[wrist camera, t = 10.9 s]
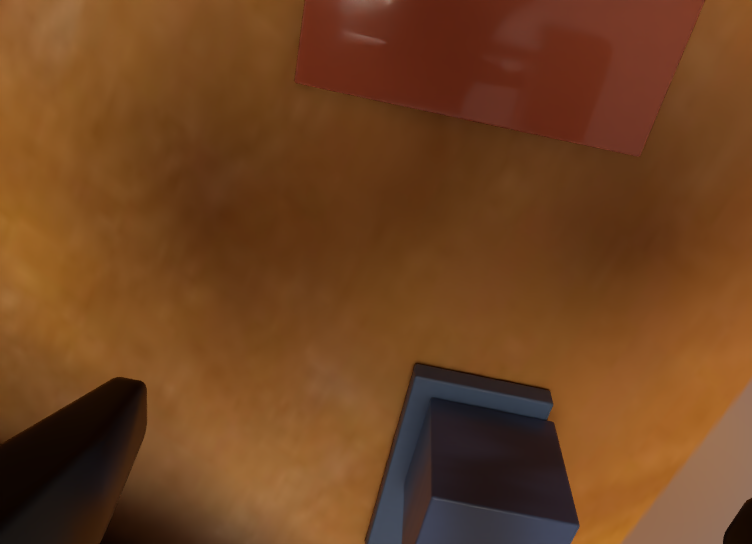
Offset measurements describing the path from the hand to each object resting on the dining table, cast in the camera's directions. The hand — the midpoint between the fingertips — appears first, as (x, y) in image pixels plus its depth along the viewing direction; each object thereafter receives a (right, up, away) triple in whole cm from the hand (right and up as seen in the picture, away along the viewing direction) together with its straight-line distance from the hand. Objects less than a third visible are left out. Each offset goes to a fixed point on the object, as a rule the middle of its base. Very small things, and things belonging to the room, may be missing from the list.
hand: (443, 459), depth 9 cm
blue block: (+3, -4, +14) cm, 15 cm away
